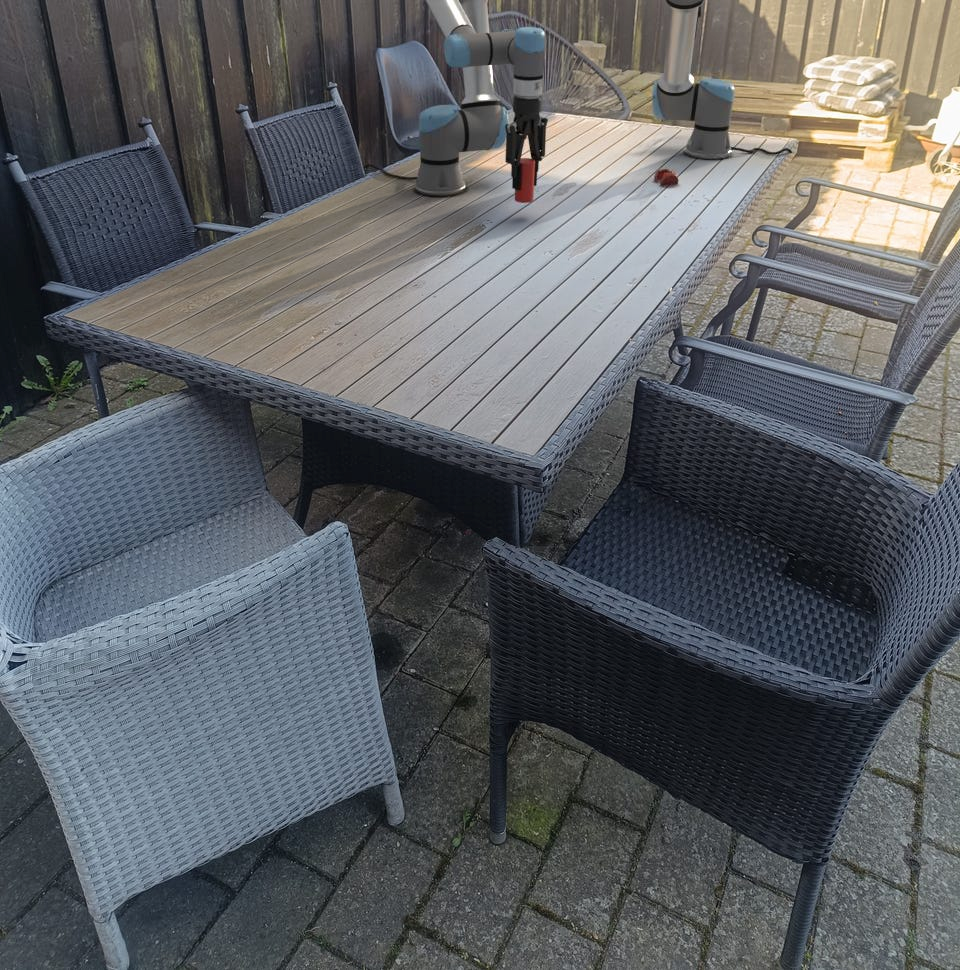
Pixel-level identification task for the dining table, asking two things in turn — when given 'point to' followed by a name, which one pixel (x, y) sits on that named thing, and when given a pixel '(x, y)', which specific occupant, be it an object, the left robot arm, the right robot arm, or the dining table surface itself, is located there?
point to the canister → (526, 181)
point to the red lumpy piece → (666, 177)
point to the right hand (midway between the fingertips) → (685, 36)
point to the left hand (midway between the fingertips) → (524, 186)
